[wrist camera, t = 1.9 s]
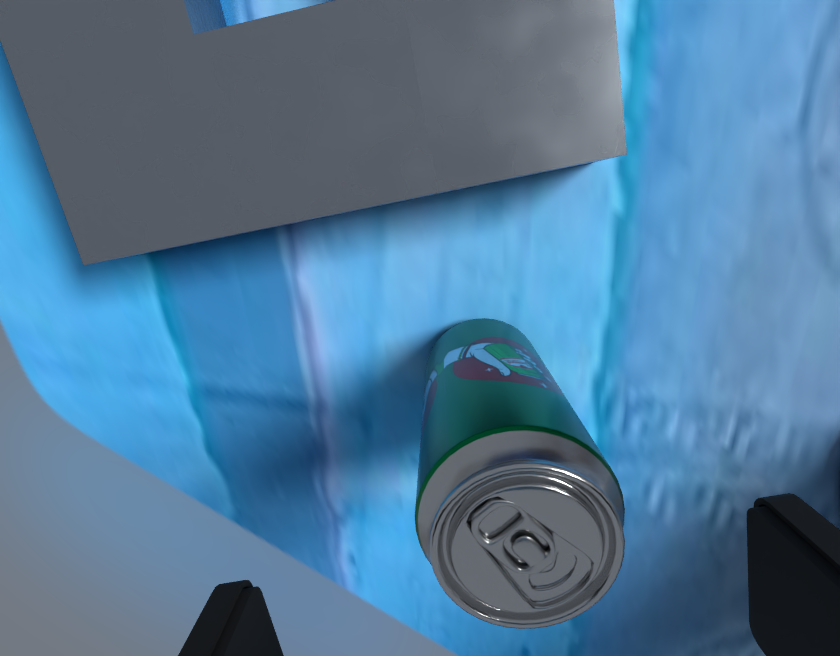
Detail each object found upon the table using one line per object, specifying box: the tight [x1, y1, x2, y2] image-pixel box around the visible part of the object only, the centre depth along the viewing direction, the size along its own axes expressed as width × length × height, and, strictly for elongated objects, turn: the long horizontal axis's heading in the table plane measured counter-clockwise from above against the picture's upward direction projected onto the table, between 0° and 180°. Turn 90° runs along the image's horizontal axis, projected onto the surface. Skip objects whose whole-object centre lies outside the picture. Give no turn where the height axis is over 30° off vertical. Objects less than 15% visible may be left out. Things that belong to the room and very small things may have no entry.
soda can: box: [415, 318, 625, 629], centre depth 16 cm, size 5×5×12 cm
